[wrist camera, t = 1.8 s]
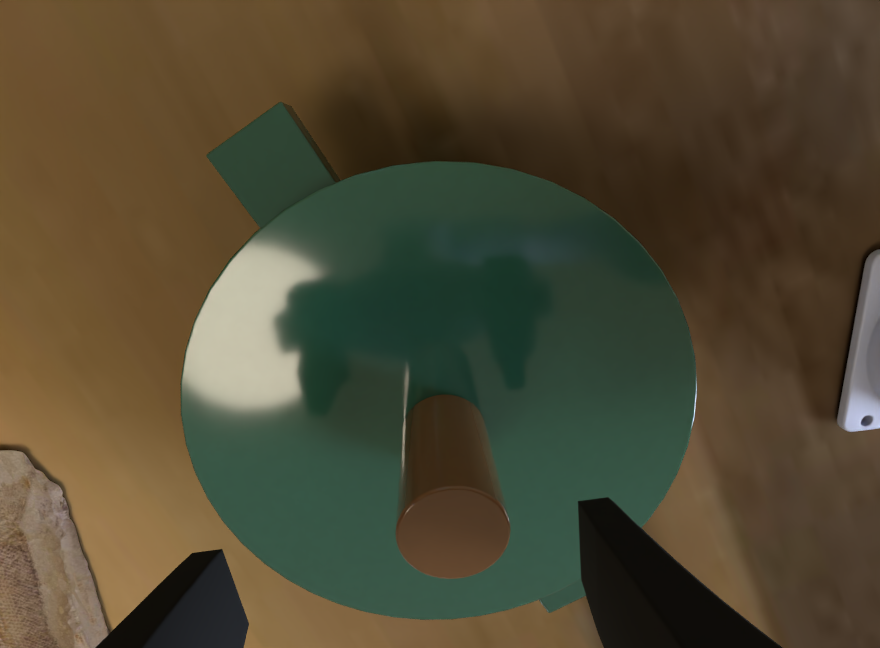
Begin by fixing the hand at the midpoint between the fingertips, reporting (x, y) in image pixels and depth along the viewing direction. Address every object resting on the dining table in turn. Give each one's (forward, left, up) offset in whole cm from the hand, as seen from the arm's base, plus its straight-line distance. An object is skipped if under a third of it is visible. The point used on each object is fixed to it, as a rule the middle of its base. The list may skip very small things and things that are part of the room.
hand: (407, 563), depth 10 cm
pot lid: (-1, 0, -5) cm, 5 cm away
